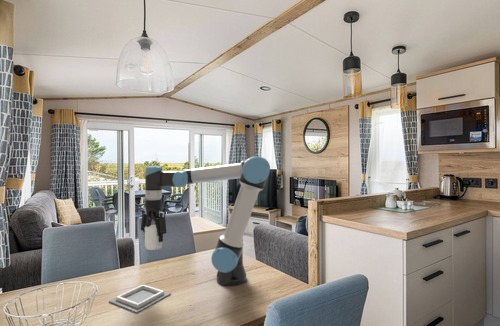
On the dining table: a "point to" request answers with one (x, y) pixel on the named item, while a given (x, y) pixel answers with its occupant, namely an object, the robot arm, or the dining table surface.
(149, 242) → the white cup
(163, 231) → the robot arm
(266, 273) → the dining table surface
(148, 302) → the holder
